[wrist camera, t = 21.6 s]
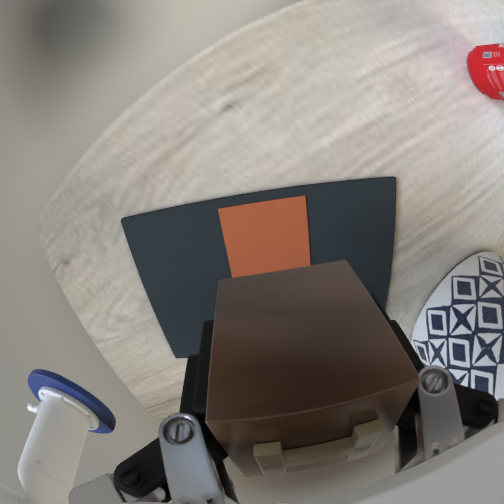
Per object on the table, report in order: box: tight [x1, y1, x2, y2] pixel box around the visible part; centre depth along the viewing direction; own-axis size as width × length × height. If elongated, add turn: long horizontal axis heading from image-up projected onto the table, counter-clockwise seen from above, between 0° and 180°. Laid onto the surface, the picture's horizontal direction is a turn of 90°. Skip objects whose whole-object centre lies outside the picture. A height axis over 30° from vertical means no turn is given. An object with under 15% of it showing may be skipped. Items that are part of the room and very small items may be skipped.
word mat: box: [121, 177, 396, 358], centre depth 21 cm, size 20×14×1 cm
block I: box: [205, 260, 420, 477], centre depth 8 cm, size 5×5×6 cm
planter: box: [411, 251, 504, 400], centre depth 18 cm, size 16×16×14 cm
